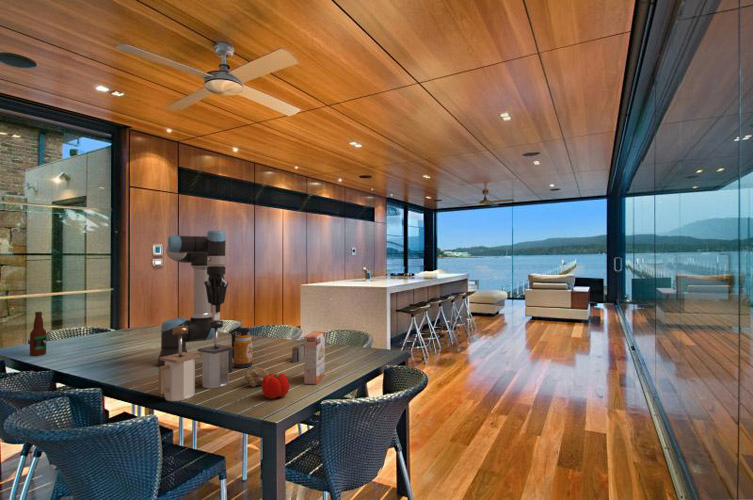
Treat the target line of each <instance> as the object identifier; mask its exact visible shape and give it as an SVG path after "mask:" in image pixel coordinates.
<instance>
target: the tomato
mask: <svg viewBox="0 0 753 500" xmlns="http://www.w3.org/2000/svg"><path fill="white" fill-rule="evenodd" d="M261 390H262V393H263V395H264V397H267V398H269V399H272V400H274V399H276V398H283V397H284V396H286V395H287V394H288V393H289V391H290V382H289V379H288V377H287V376H286V374H285V373H283V372H282V373H279V375H278V372H275V373H269V375H267V376H265V377H264V379H263V381H262V385H261Z"/></svg>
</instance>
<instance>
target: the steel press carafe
mask: <svg viewBox="0 0 753 500" xmlns="http://www.w3.org/2000/svg"><path fill="white" fill-rule="evenodd" d="M232 349H234V347H232V345H231V346H229V345H225V344H217V349H214V345H210V346H206V347H205V346H204V347H201V348H197V352H198V353H199V352H200V353H202V360H201V361H202V362H201V363H202V368H201V369H202V374H201V375H202V376H201V377H202V379H201V381H202V383H201V385H202V388H204V389H209V390H210V389H212V390H213V389H220V388H224V387H227V386H228V385H229V379H230V377H229V374H231V373H233V358H232V351H233V350H232Z"/></svg>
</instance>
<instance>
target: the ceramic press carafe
mask: <svg viewBox="0 0 753 500" xmlns="http://www.w3.org/2000/svg"><path fill="white" fill-rule="evenodd" d="M199 358H201V354H197V353H191V352H187V353H186V352H182V357H179V353H178V354H173V355H169V356H164V357H160V360H162V361H165V366H161V367H160V366H158V394H159V395H164V399H165V401H167V402H178V401H179V400H181V401H186V400H188V399H191V398H193V397H194V396H195V391H196V390H195V387H196V378H195V377H196V359H199ZM185 399H186V400H185ZM179 402H180V401H179Z"/></svg>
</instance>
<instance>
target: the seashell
mask: <svg viewBox="0 0 753 500" xmlns="http://www.w3.org/2000/svg"><path fill="white" fill-rule="evenodd" d="M269 374H270V372H268V371H267V370H266V369H264V368H262V367H259V366H258V367H257V366H254V367H252V368H250V369H248V370H246V372H245V373H244V380H245V381H246V382H248V383H249V385H250V386H251V387H252V388H255V387H256V386H262V381H263V379H264V377H265V376H267V375H269Z"/></svg>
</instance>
